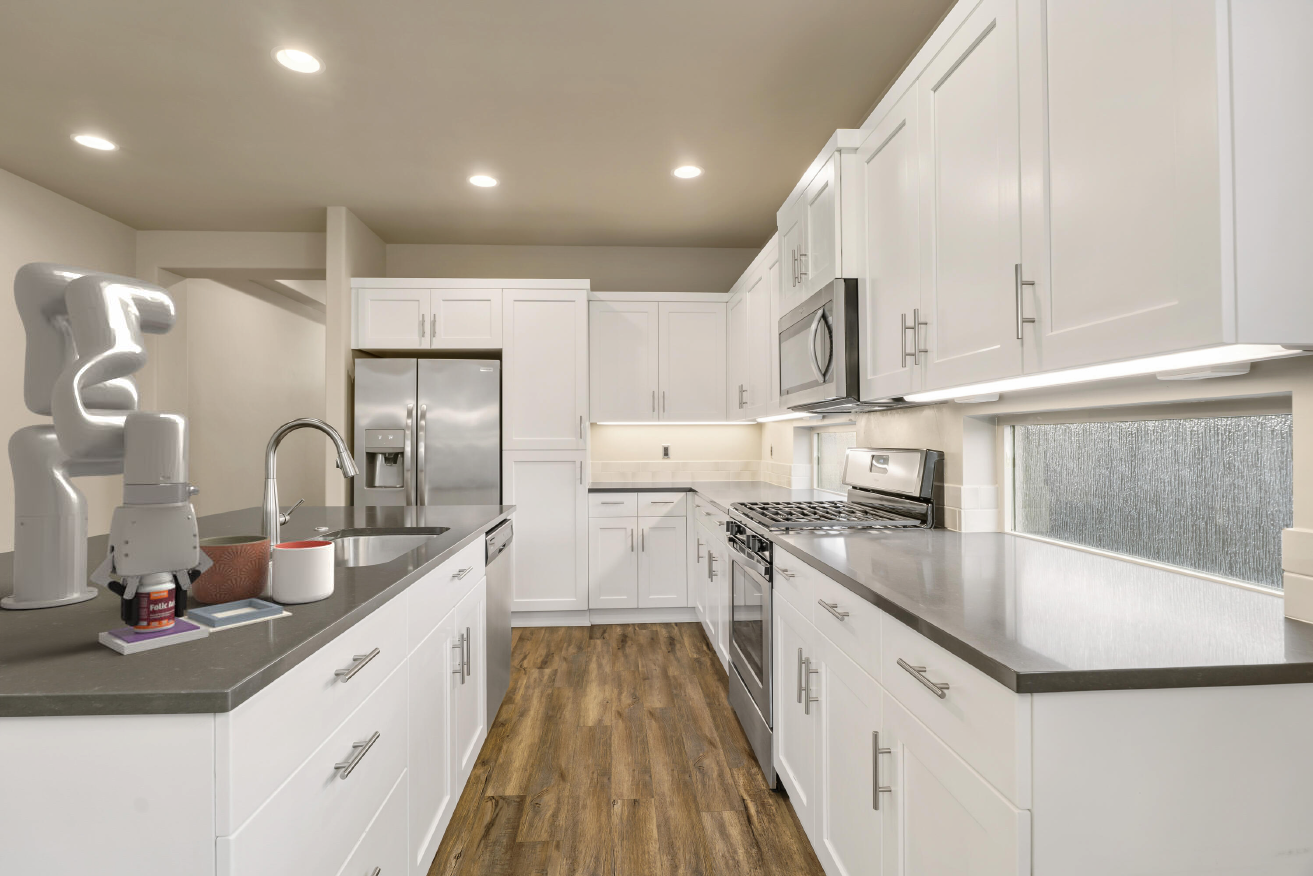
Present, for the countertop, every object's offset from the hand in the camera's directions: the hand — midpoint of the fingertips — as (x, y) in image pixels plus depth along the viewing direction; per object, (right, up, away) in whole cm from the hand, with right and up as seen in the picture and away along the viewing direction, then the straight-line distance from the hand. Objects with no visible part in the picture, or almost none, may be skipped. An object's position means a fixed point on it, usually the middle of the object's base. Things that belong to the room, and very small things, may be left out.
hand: (154, 619), depth 93 cm
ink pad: (0, -3, 0) cm, 3 cm away
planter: (-5, -3, +24) cm, 24 cm away
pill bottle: (0, -2, 0) cm, 2 cm away
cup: (+8, -3, +25) cm, 26 cm away
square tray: (+4, -3, +12) cm, 13 cm away
